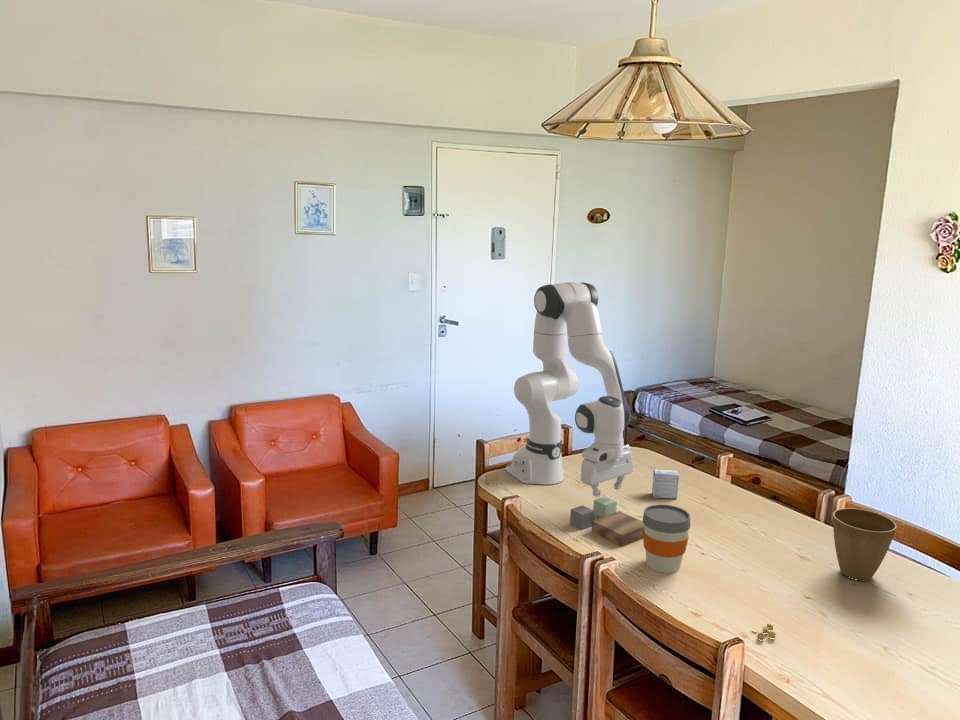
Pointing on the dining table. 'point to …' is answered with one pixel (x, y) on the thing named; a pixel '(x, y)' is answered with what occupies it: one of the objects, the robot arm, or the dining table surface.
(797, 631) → the dining table surface
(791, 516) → the dining table surface
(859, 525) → the plant pot
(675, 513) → the reusable coffee cup
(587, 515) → the charcoal block
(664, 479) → the medicine box
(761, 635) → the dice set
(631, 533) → the walnut plinth
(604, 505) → the sage block
